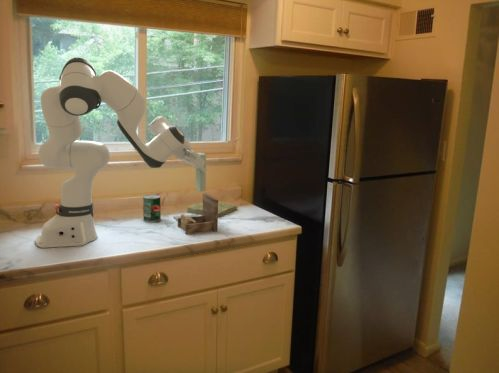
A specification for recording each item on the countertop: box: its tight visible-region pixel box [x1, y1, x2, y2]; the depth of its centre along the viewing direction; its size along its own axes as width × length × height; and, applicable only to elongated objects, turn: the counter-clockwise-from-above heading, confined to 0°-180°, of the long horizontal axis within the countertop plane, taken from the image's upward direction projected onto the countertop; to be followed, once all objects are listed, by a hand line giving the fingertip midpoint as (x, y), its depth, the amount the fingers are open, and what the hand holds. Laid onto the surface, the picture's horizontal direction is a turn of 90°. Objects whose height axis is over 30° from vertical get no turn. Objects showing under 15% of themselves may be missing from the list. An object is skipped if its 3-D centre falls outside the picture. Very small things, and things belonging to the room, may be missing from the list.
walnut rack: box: [177, 192, 219, 235], centre depth 190 cm, size 14×14×14 cm
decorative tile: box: [186, 200, 238, 218], centre depth 222 cm, size 19×20×4 cm
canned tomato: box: [142, 194, 162, 222], centre depth 202 cm, size 8×8×11 cm
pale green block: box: [195, 152, 207, 192], centre depth 187 cm, size 3×5×16 cm, turn 28°
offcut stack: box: [180, 214, 196, 231], centre depth 189 cm, size 4×8×6 cm, turn 27°
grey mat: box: [173, 214, 200, 222], centre depth 204 cm, size 12×12×1 cm
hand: (202, 170), depth 187 cm, fingers closed on pale green block, 5 cm apart
